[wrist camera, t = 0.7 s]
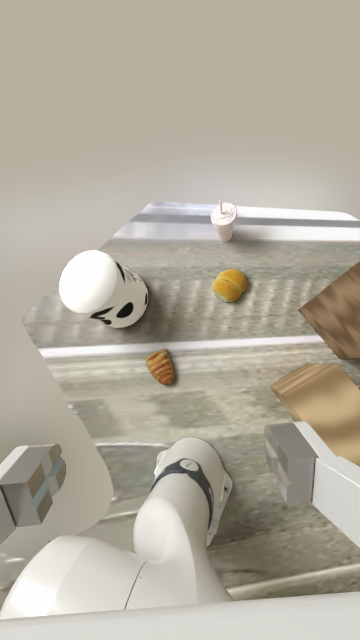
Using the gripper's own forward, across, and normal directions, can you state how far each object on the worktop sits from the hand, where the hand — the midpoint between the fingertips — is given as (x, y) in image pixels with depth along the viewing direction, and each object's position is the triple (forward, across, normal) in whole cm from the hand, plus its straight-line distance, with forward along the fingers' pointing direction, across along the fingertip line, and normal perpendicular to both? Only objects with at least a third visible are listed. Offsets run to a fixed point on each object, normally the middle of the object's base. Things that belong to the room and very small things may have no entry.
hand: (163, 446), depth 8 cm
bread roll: (+51, +15, 0) cm, 54 cm away
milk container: (+58, -16, -2) cm, 60 cm away
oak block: (+35, +28, -26) cm, 52 cm away
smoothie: (+58, +16, +14) cm, 62 cm away
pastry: (+47, -5, -19) cm, 51 cm away
